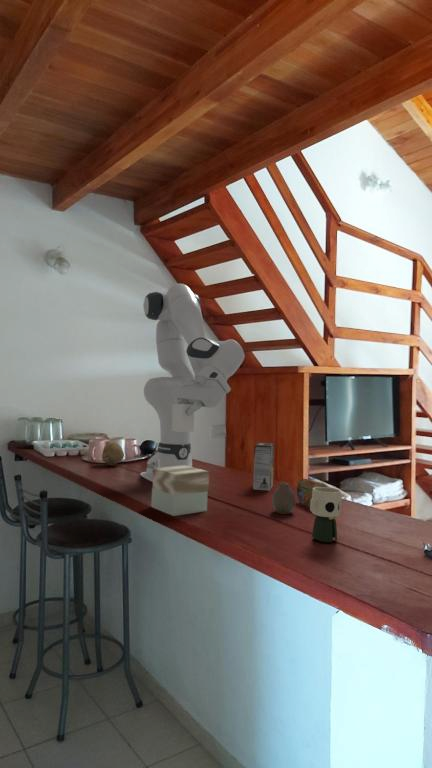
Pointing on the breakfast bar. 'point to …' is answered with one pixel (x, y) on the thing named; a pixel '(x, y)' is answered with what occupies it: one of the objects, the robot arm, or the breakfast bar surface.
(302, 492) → the tin
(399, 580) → the breakfast bar surface
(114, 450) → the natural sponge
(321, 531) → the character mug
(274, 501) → the vase
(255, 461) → the coffee box
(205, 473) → the tower top
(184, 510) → the tower base
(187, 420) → the offwhite block
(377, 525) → the breakfast bar surface
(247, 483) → the breakfast bar surface
